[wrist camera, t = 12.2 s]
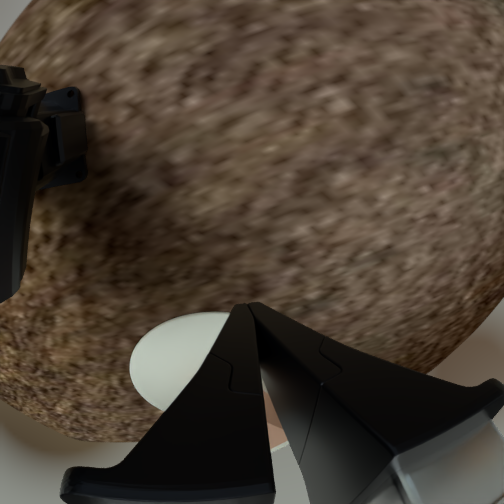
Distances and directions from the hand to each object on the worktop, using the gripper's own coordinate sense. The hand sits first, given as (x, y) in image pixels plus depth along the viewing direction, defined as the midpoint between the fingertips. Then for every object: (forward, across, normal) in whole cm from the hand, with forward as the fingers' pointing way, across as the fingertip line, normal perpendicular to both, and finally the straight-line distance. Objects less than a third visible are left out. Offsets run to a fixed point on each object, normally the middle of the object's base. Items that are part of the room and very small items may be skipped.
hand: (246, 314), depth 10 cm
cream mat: (+12, -2, -17) cm, 21 cm away
